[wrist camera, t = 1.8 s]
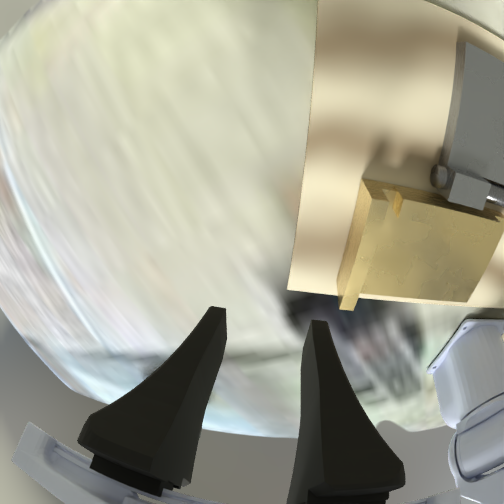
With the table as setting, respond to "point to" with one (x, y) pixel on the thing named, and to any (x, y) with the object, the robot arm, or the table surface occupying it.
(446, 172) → the fixed leaf
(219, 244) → the table surface
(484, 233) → the loose leaf
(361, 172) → the board
